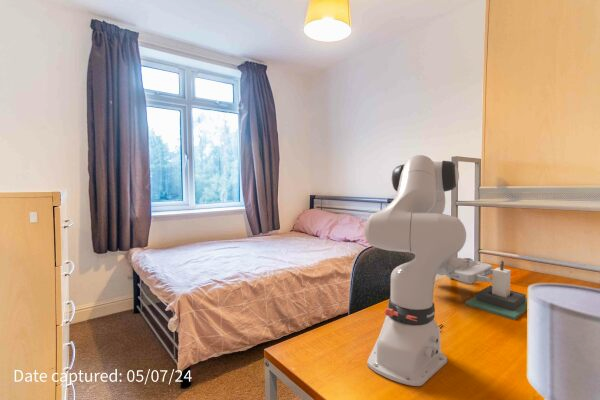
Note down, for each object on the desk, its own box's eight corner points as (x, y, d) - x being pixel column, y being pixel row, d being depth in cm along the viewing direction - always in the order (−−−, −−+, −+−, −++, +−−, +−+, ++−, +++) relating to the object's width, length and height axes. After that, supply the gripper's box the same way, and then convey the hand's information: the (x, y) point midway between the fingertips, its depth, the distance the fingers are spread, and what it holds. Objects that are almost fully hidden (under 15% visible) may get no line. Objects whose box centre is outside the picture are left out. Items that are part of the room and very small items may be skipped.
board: (514, 320, 102) (514, 308, 102) (465, 304, 115) (465, 294, 114) (536, 302, 115) (536, 292, 115) (489, 290, 128) (490, 281, 128)
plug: (504, 304, 112) (506, 263, 111) (491, 300, 115) (493, 260, 114) (509, 301, 114) (511, 261, 113) (496, 297, 118) (497, 258, 117)
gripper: (446, 266, 120) (484, 275, 109) (470, 257, 133) (506, 264, 122) (446, 281, 121) (483, 292, 110) (470, 271, 133) (506, 279, 122)
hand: (496, 277), depth 116 cm, fingers open, 8 cm apart
